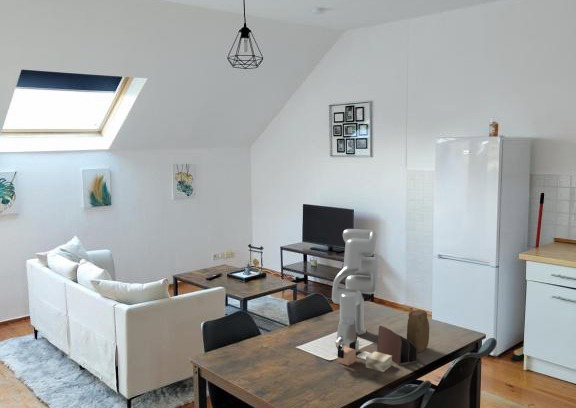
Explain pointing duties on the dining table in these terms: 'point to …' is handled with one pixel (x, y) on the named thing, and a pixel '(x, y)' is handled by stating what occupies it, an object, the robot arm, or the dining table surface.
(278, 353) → the dining table surface
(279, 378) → the dining table surface
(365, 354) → the card
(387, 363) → the birch block
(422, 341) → the block
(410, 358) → the letter holder
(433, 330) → the dining table surface
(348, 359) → the terracotta cube
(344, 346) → the sage cube
